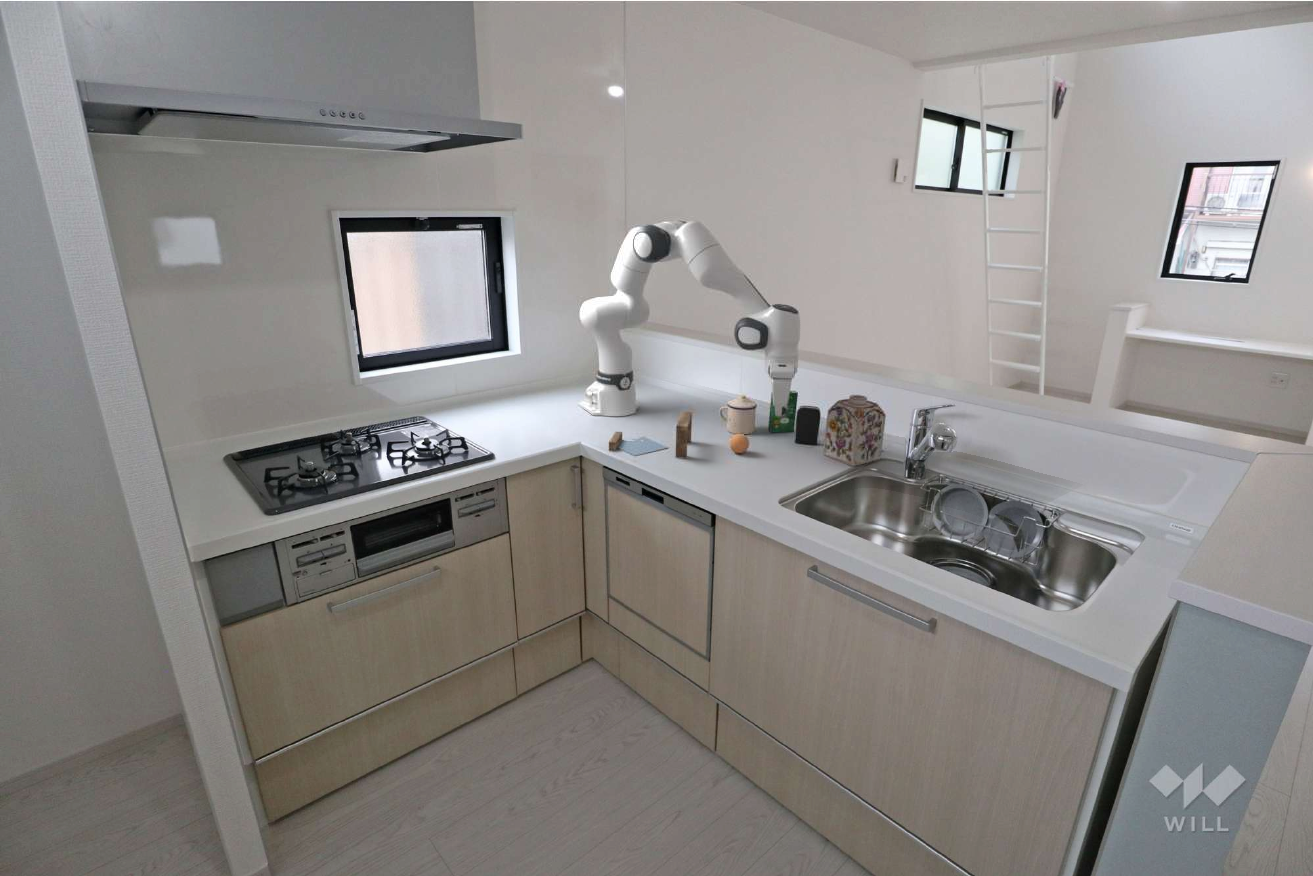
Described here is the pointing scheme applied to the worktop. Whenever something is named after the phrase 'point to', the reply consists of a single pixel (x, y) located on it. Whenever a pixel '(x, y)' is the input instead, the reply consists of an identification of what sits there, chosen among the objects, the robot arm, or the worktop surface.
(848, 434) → the decorative jar
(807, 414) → the battery charger
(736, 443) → the ball
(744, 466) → the worktop surface
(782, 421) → the coffee box
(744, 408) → the teacup with lid
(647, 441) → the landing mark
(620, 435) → the stopper
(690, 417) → the bridge
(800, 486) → the worktop surface
